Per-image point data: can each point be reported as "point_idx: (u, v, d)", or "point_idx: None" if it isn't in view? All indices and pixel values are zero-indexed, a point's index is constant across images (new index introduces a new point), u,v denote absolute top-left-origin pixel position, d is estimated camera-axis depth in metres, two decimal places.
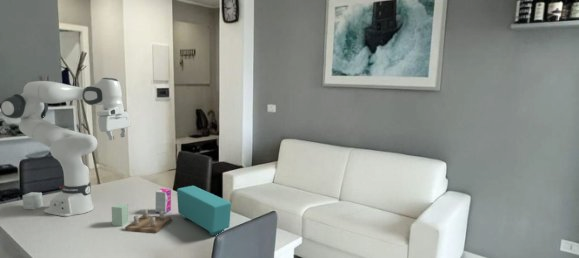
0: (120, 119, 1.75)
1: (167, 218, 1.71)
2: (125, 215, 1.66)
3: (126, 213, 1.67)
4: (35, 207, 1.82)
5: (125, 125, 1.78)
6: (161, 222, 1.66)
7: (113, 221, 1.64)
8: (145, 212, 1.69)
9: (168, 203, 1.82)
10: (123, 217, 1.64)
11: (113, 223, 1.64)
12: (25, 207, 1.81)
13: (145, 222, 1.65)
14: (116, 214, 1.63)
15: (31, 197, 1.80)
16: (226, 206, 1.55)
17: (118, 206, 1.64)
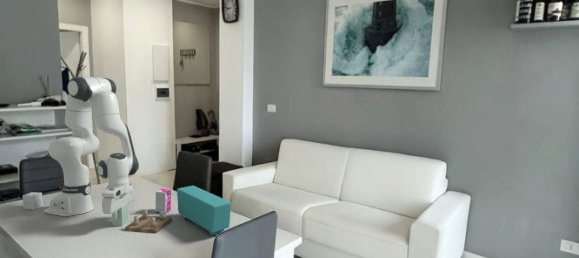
0: (125, 196, 1.67)
1: (167, 218, 1.71)
2: (125, 215, 1.66)
3: (126, 213, 1.67)
4: (35, 207, 1.82)
5: (129, 201, 1.70)
6: (161, 222, 1.66)
7: (113, 221, 1.64)
8: (145, 212, 1.69)
9: (168, 203, 1.82)
10: (123, 217, 1.64)
11: (113, 223, 1.64)
12: (25, 207, 1.81)
13: (145, 222, 1.65)
14: None
15: (31, 197, 1.80)
16: (226, 206, 1.55)
17: None
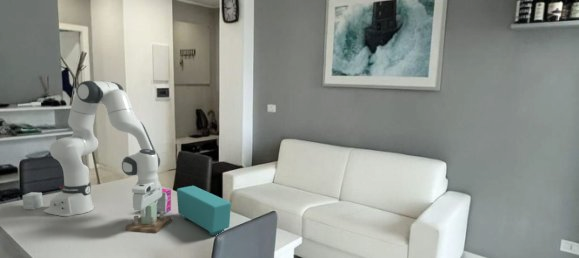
0: (153, 192, 1.66)
1: (167, 218, 1.71)
2: (154, 213, 1.65)
3: (155, 211, 1.66)
4: (35, 207, 1.82)
5: (157, 197, 1.69)
6: (161, 222, 1.66)
7: (142, 219, 1.63)
8: None
9: (168, 203, 1.82)
10: (152, 215, 1.64)
11: (142, 221, 1.63)
12: (25, 207, 1.81)
13: None
14: None
15: (31, 197, 1.80)
16: (226, 206, 1.55)
17: None
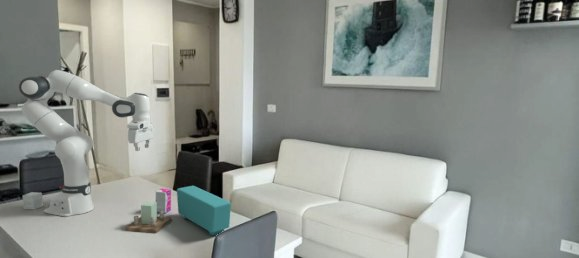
0: (146, 131, 1.89)
1: (167, 218, 1.71)
2: (154, 213, 1.65)
3: (155, 211, 1.66)
4: (35, 207, 1.82)
5: (150, 137, 1.92)
6: (161, 222, 1.66)
7: (142, 219, 1.63)
8: None
9: (168, 203, 1.82)
10: (152, 215, 1.64)
11: (142, 221, 1.63)
12: (25, 207, 1.81)
13: None
14: (146, 212, 1.62)
15: (31, 197, 1.80)
16: (226, 206, 1.55)
17: (147, 204, 1.64)
